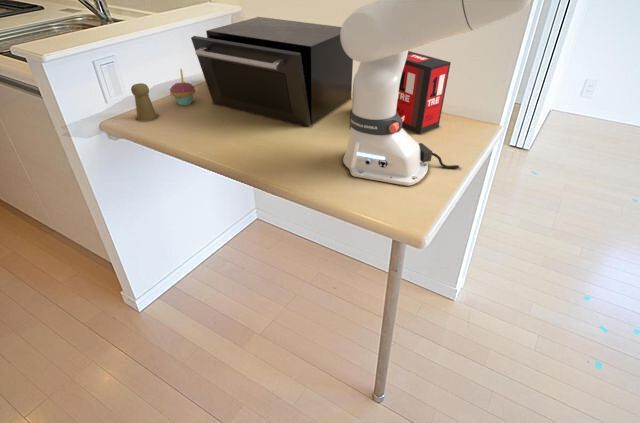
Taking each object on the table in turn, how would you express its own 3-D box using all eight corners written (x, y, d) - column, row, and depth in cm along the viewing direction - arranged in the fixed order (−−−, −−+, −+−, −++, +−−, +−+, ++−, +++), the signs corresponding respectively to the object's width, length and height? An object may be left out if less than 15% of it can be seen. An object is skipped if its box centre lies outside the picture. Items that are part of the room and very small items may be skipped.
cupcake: (178, 98, 148) (171, 64, 141) (200, 99, 147) (195, 65, 140) (169, 107, 141) (161, 72, 134) (192, 107, 140) (186, 73, 133)
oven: (311, 125, 129) (310, 46, 115) (216, 102, 145) (206, 30, 131) (351, 98, 148) (354, 28, 134) (263, 80, 165) (258, 16, 151)
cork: (150, 121, 130) (142, 88, 124) (133, 120, 131) (124, 86, 125) (160, 114, 135) (152, 82, 129) (144, 113, 136) (135, 80, 130)
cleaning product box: (438, 126, 128) (450, 62, 116) (420, 134, 123) (431, 67, 112) (399, 111, 138) (407, 50, 127) (381, 117, 134) (387, 55, 122)
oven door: (301, 135, 125) (289, 62, 108) (205, 110, 141) (181, 43, 124) (311, 124, 128) (300, 52, 111) (216, 101, 144) (194, 35, 127)
